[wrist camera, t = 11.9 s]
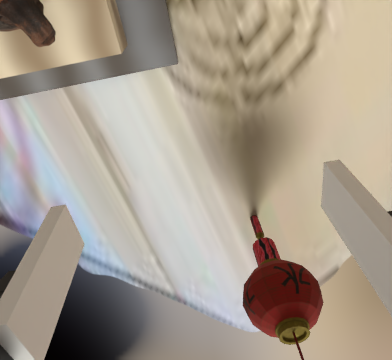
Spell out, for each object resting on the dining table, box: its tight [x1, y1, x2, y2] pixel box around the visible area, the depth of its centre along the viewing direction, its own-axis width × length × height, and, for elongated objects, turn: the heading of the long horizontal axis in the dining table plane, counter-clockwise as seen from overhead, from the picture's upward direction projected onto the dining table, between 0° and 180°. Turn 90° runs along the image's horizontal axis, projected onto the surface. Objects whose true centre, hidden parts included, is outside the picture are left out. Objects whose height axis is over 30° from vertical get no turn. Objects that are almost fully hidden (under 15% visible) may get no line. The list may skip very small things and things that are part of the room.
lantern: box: [243, 216, 323, 360], centre depth 38 cm, size 10×10×30 cm
